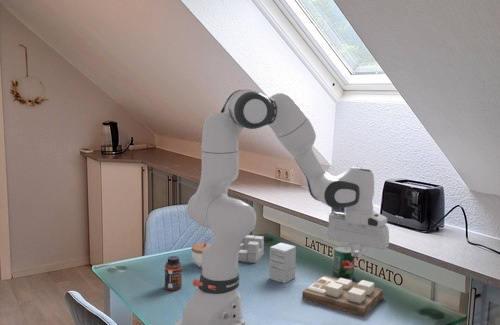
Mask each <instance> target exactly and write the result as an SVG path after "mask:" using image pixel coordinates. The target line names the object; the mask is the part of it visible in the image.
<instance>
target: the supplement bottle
mask: <svg viewBox="0 0 500 325" xmlns="http://www.w3.org/2000/svg"><path fill="white" fill-rule="evenodd" d="M182 266H183V265H182V263H181V262H180V257H179V256H177V255H170V256H168V257H167V262H166V263H165V264H164V288H165V289H166V290H168V291H177V290H180V289H181V288H182V285H183V284H182V281H183V280H182V275H183V273H182V270H183V268H182Z"/></svg>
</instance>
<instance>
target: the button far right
mask: <svg viewBox="0 0 500 325" xmlns="http://www.w3.org/2000/svg"><path fill="white" fill-rule="evenodd" d="M357 283H358V284H357V288H358V289H362V290H366V295H371V294H372V293H373V292H374V287H375V282H372V281H368V280H364V279H362V280H360V281H359V282H357Z"/></svg>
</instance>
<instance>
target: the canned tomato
mask: <svg viewBox="0 0 500 325" xmlns="http://www.w3.org/2000/svg"><path fill="white" fill-rule="evenodd" d="M333 250H334V252H333V270H332V273H333V274H332V277H335V278H339V279H340V278H344V279H348V280H353V279H354V278H353V277H355V276H354V275H355V258H356V257H354V256H351V250H350V248H349V246H347V245H337V246H334V248H333Z"/></svg>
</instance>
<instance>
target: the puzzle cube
mask: <svg viewBox="0 0 500 325" xmlns="http://www.w3.org/2000/svg"><path fill="white" fill-rule="evenodd" d="M264 240H265V237H264V236H261V235H253V234H249V235H247V236H246V237H245V238H244V239H243V242H242V243H241V245H240V248H239V254H238V262H245V263H252V264H254V263H255V264H257V262H258V261H259V260H260V259H261V257H263V255H264V246H265V245H264V244H265V241H264Z"/></svg>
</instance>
